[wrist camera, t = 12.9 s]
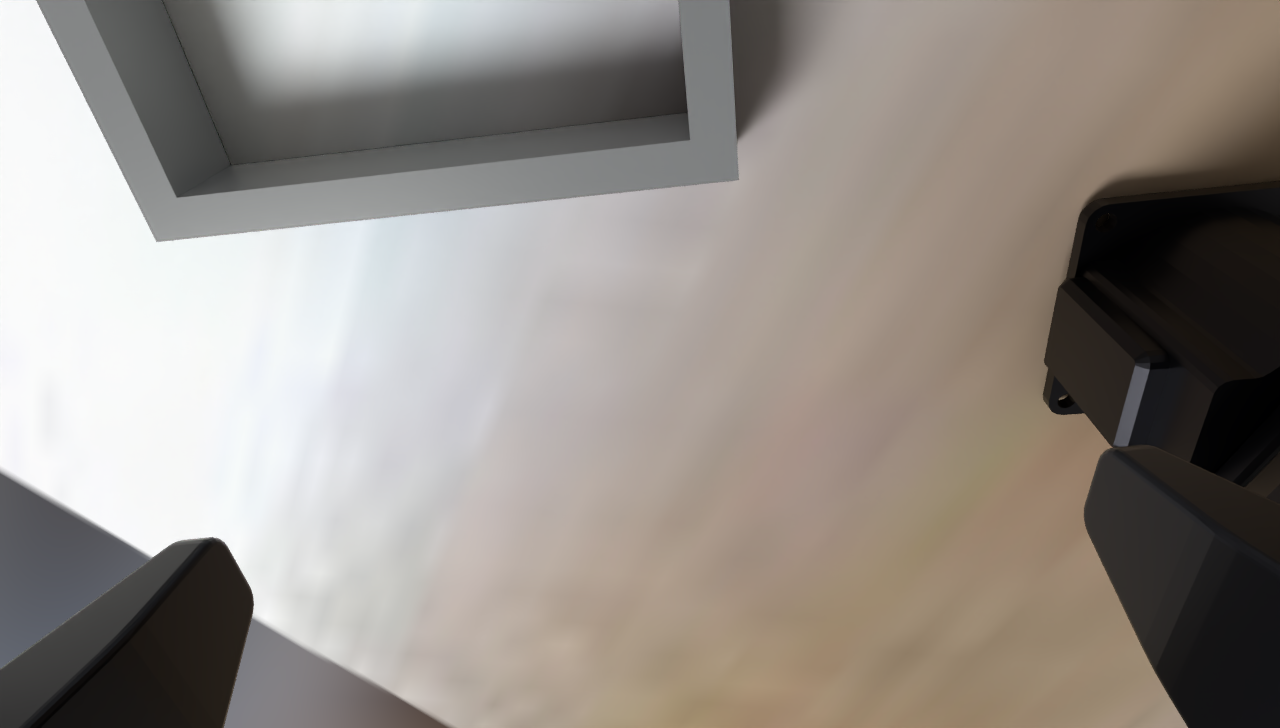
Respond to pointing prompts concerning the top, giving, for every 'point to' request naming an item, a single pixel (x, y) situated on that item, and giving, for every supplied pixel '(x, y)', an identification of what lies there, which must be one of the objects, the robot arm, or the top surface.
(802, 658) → the top surface
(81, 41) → the gray square frame
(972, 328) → the top surface
